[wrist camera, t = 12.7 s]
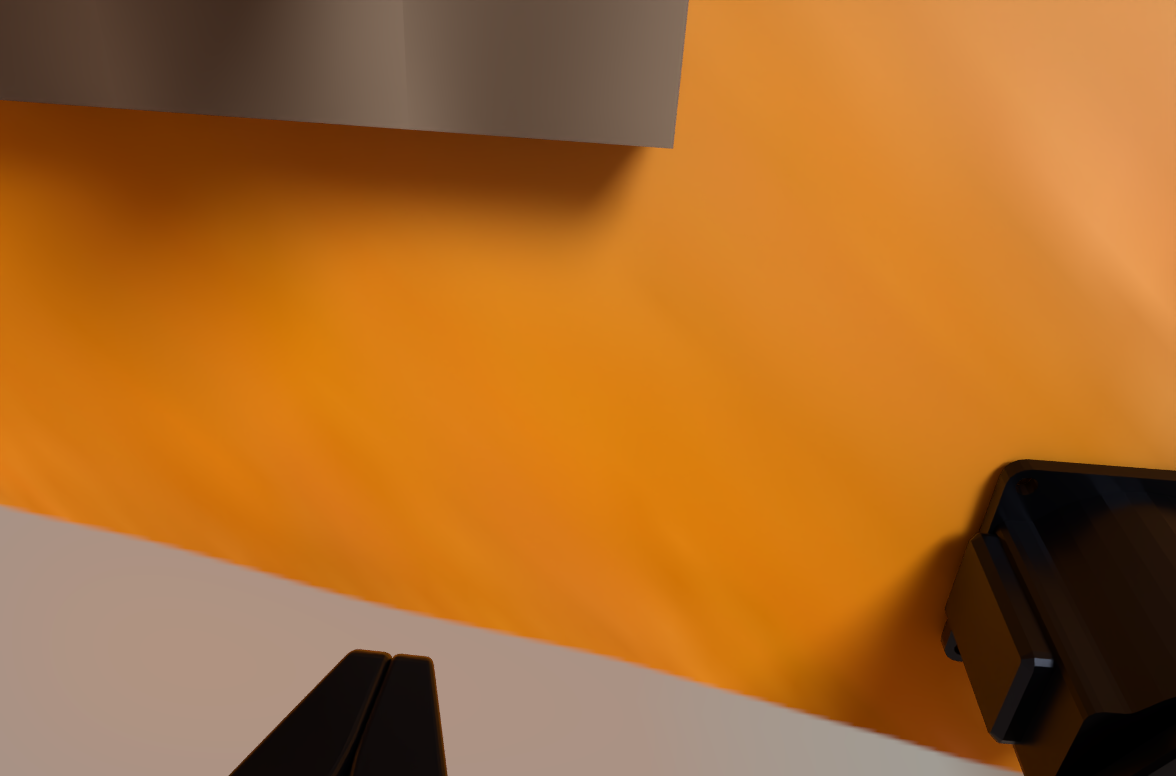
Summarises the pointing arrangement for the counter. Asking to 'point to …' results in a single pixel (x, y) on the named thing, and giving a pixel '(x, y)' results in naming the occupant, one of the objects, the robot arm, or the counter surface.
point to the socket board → (362, 62)
